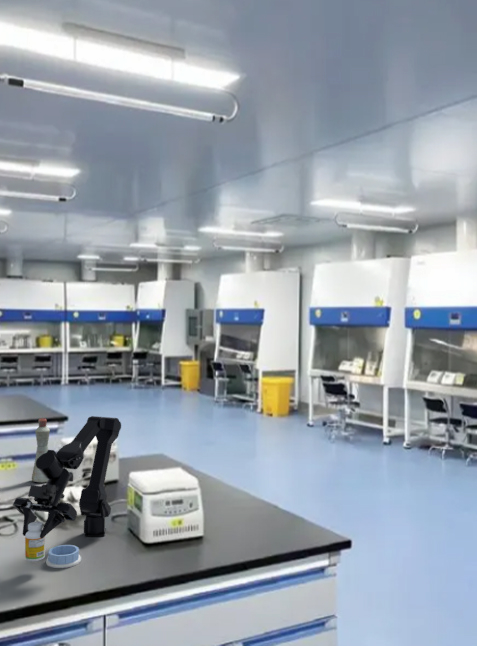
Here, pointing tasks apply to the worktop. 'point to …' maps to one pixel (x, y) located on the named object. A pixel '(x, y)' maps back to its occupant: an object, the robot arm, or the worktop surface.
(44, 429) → the bottle
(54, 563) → the holder
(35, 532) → the supplement bottle
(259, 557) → the worktop surface
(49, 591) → the worktop surface
